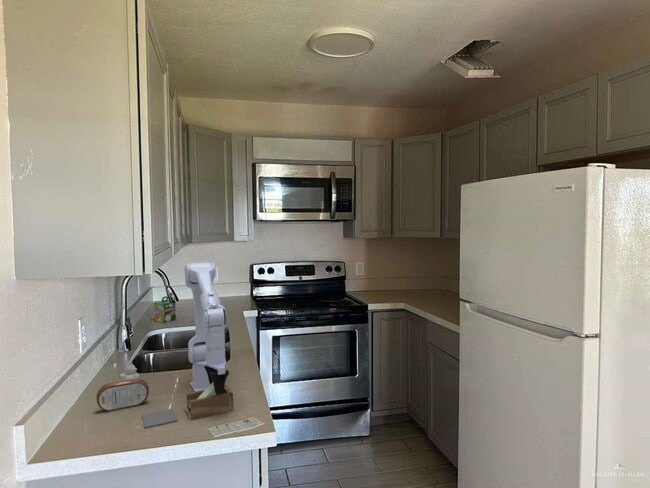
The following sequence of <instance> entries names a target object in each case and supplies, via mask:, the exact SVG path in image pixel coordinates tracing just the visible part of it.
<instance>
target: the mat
mask: <svg viewBox="0 0 650 488" xmlns="http://www.w3.org/2000/svg"><path fill="white" fill-rule="evenodd" d="M177 416H178V415H177V413H176V412H175V408H173V407H172V408H168V409H162V410H157V411H154V412H153V411H152V412H149V413H144V414H141V417H142V421H143V426H144V429H150V428H154V427H159V426H162V425H167V424H171V423H176V422H179V419H178V417H177Z"/></svg>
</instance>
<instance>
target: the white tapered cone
mask: <svg viewBox="0 0 650 488" xmlns="http://www.w3.org/2000/svg"><path fill="white" fill-rule="evenodd" d="M137 370H138V368H136V366H135V365H134V364H133V362H130V364H129V365H128V366H127V367H126V369H125V372H126V373H120V375H119V378H120V381H124V380H131V379H141V376H140V374H139V373H138V372H137Z"/></svg>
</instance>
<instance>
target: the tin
mask: <svg viewBox="0 0 650 488" xmlns="http://www.w3.org/2000/svg"><path fill="white" fill-rule="evenodd" d="M149 394H150V388H149V384H148V383H147V382H146V381H145V380H144V379H141V378H139V379H131V380H124V381H121V380H119V381H112V382H108V383H105V384H104V385H102V386H101V387H100V388H99V389H98V390H97V393H96V398H95V399H96V404H97V406H98V407H99V408H100V409H101V410H103V411H106V412H107V411H108V412H111V411H117V410H122V409H123V410H124V409H127V408H132V407H133V408H134V407H138V406H141V405H142V404H144V403H145V401H147V399H148V397H149Z"/></svg>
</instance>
